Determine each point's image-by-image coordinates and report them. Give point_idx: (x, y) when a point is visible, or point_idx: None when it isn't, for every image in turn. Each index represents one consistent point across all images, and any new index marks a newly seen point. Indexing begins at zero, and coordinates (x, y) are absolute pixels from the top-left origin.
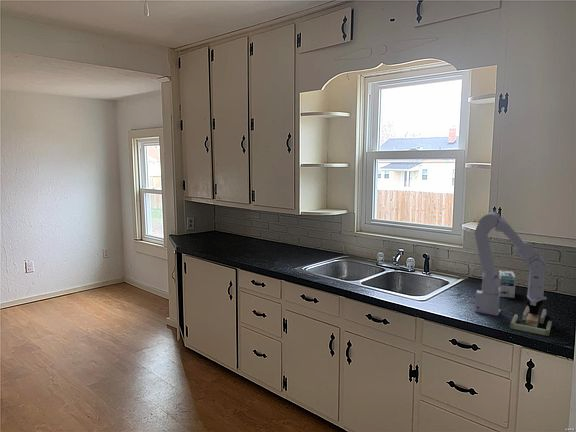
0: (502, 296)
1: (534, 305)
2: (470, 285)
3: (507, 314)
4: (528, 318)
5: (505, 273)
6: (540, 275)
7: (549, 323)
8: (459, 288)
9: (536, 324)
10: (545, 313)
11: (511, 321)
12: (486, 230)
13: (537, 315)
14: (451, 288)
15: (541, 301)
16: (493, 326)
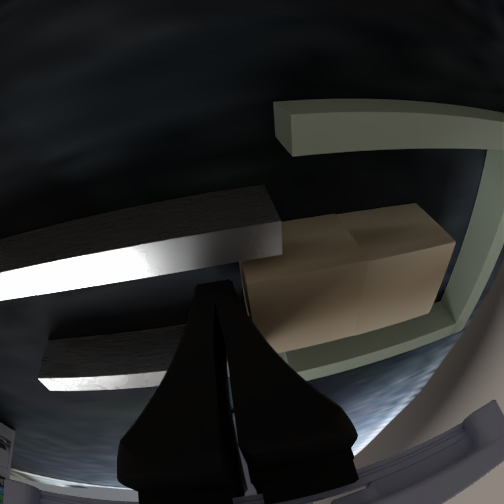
0: (7, 427)
1: (488, 406)
2: (31, 466)
3: None
4: (405, 310)
5: None
6: None
7: (388, 129)
8: (85, 478)
9: (437, 227)
10: (31, 255)
11: (436, 340)
12: None
13: (270, 293)
14: (108, 484)
15: (212, 477)
16: (439, 349)
